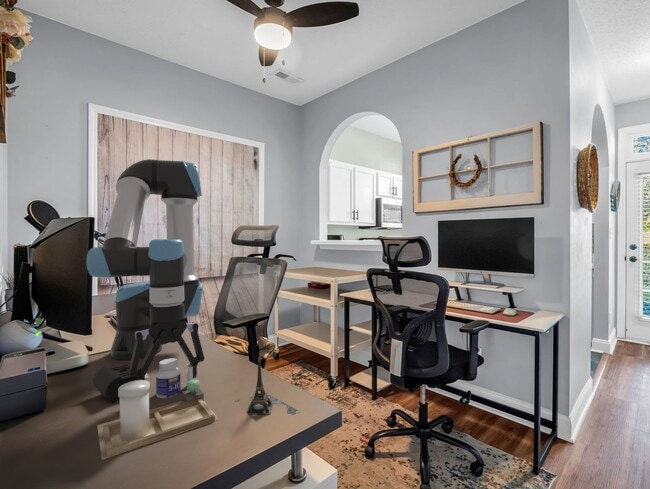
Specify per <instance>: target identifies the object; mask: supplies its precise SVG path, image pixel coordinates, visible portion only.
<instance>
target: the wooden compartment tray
mask: <svg viewBox="0 0 650 489" xmlns="http://www.w3.org/2000/svg"><path fill="white" fill-rule="evenodd" d="M204 393H205V392H204V391H202V390H201V388H200V387H199V389H198V390H195V393H194V394H191V391H188V390H183V391H182V400H180V401H177V402H173V403H169V404H165V405H163V406H159V407H155V408H153V409H152V408H151V409H149V429H150V430H149V433H148V434H147V435H146V436H144V437H142V438H139V439H136V440H133V441H128V442H127V441H122V440H121V438H120V418H117V419H114V420H110V421H107V422H103V423H100V424H99V423H98V424H97V425H96V426H97V434H98V442H99V448H100V449H99V450H100V457H101V458H100V459H101V460H102V461H104V460H106V459H109V458H112V457H114V456H118V455H120V454H121V455H122V454H124V453H126V452H129V451H133V450H135V449H138V448H141V447H144V446H148V445H149V444H150V445H151V444H153V443H155V442H158V441H161V440H165V439H167V438H168V439H169V438H171V437H173V436H175V435H179V434H182V433H185V432H188V431H191V430H194V429H196V428H197V429H198V428H200V427H203V426H206V425H209V424H211V423H214V422H217V421H219V420H220V419H219V418H218V416H217V415H216V414H215V412H214V411H213V410H212V409H211V408H210V406H209V405H208V403H206V401H205V400H204V399H205V398H204V397H205V394H204Z"/></svg>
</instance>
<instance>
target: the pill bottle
mask: <svg viewBox="0 0 650 489" xmlns="http://www.w3.org/2000/svg"><path fill="white" fill-rule="evenodd" d="M178 364H179V363H178V359H177V358H165V359H162V360H160V361H159V363H158V367H159V370H158V371H157V372H156V376H155V379H156V380H155V384H156V387H155V389H156V390H155V391H156V392H155V393H156V394H155V396H156V398H159V399H171V398H173V397H176V396H178V395H180V393H181V387H182V386H181V385H182V384H181V368H178Z"/></svg>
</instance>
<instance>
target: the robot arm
mask: <svg viewBox="0 0 650 489" xmlns="http://www.w3.org/2000/svg"><path fill="white" fill-rule="evenodd" d="M115 191H116V193H117V195H116V198H115V201H114V206H113V209H112V212H111V216H110V219H109V222H108V225H107V229H106V232H105V236H104V238H103V243H102V245H101V246H97V247H92V248H90V249H89V250H88V252H87V254H86V269H87V271H88V274H89V275H90V276H91V277H94V278H110V279H111V278H119V277H122V278H123V277H141V276H142V277H146V276H148V277H149V280H148V281H147V280H146V281H145V280H144V281H138V282H134V283H130V284H126V285H122V286H120V287H118V289H117V290H116V292H115V295H116V298H115V301H114V302H115V311H116V312H115V313H116V315H115V317H116V333H115V335H114V339H113V341H112V344H111V348H110V358H112V359H114V360H115V359H116V360H130V363H129V366H130V367H129V369H128V372H129V374H130V376H131V377H138V380H147V381H149V382H150V377H149V374H148V373H147V372H148V370H149V368H150V366H151V364H152V362H153V360H154V358H155V357H156V354H158V353H159V352H161V351H162V350H163V345H166V344H169V343H170V344H172V343H176V342H177V343H178V345H179V348H180V349H181V350H182V352H183V353H184V355H185V357H186V358H187V360H188V362H189V363H187V364H186V383H187V382H188V381H190V380H194V379H196V378H197V376H198V370H197V367H198V365H199V363H202V362H204V361H205V355H204V351H203V348H202V343H201V339H200V336H199V323H197V322H195V321H192V322H186V318H190V317H196V316H197V315H199V313H200V311H201V305H202V295H203V287H204V283H202V282H199V279H200V278H199V277H198V276H197V275H196V274H195V262H194V261H195V259H194V258H195V257H194V256H195V255H194V254H195V251H194V250H195V249H194V247H195V245H194V244H195V242H194V206H195V204H197V202H198V197H202V194H203V193H202V187H201V180H200V175H199V168H198V165H197V164H196V163H194V162H188V161H183V160H163V159H162V160H161V159H159V160H158V159H142V160H139V161H137V162H135V163H133V164H130V166H128V167H127V168H125V169H124V170H123V172H122V173H120V175H119V177H118V178H117V181H116V184H115ZM150 195H155V196H157V195H158V196H160V199H161V201H162V202H163V203H164V205H165V208H166V212H165V213H166V215H165V216H166V221H165V222H166V224H165V225H166V239H165V238H164V239H163V238H161V239H151V240H150V241H149V244H148V246H138V239H139V235H140V229H141V224H142V218H143V213H144V209H145V202H146V201H147V199H148V198H149V197H150ZM186 330H187V331H188V332H189V334H190V336H191V341H192V345H193V348H194V352H195V356H194V355H193V353H192V351H191V350H190V348H189V346H188V344H187V343H186V341H185V339H184V338H183V334H184V332H185V331H186ZM141 358H143V360H142V362H141V364H140V359H141ZM139 365H140V366H139Z"/></svg>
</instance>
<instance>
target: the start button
mask: <svg viewBox="0 0 650 489" xmlns="http://www.w3.org/2000/svg"><path fill="white" fill-rule="evenodd" d="M199 388H200V380H199V379H193V380H190V381H188V382H187V381H186V391H191V394H194V393H195V390H198V389H199Z"/></svg>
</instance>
